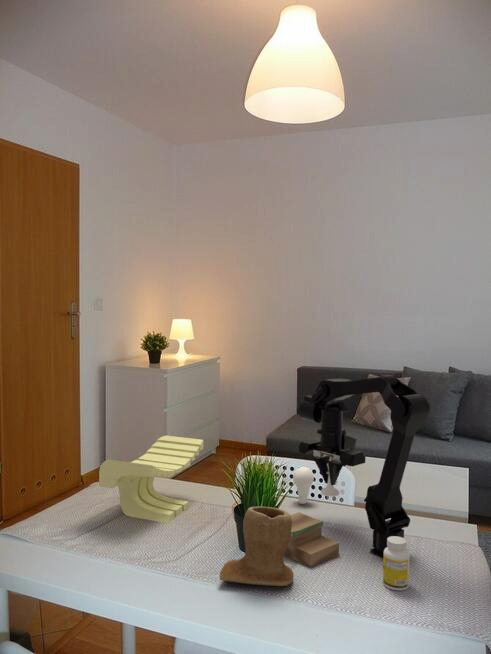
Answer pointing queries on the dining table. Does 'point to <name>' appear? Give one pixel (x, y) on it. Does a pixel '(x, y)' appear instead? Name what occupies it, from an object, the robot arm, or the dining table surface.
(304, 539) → the step stand
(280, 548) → the brown suede boot
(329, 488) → the chess piece
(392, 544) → the supplement bottle
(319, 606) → the dining table surface
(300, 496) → the lightbulb
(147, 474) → the slatted curved stool
